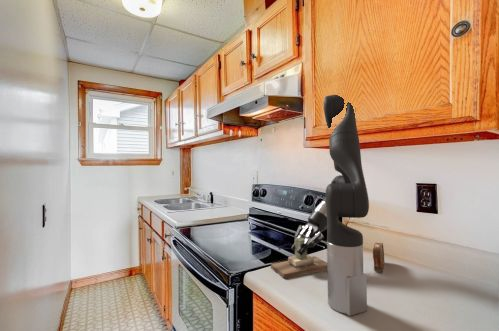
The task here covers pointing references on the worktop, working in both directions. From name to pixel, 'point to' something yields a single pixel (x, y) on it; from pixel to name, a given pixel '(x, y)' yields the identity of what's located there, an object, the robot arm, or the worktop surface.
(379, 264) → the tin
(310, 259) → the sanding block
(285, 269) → the board
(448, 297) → the worktop surface
